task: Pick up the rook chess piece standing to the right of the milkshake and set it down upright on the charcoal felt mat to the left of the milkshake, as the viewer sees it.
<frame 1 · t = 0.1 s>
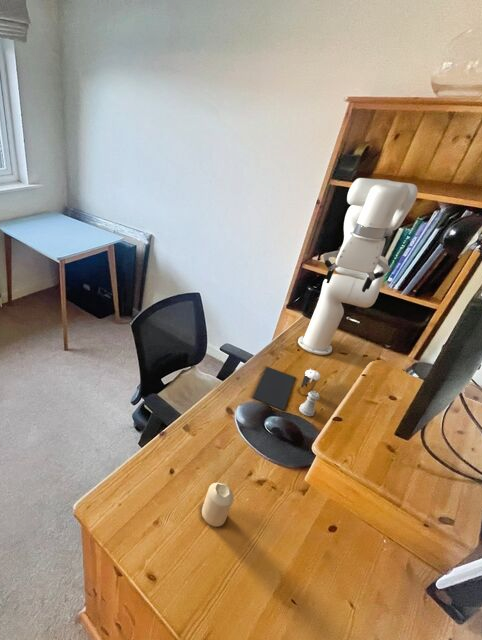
hand: (345, 286, 107), 37 cm above the table, tool pointing down, fingers open, 9 cm apart
candle: (213, 515, 82), on the table
felt mat: (274, 387, 121), on the table
rook chess piece: (305, 412, 111), on the table
milkshake: (304, 392, 119), on the table
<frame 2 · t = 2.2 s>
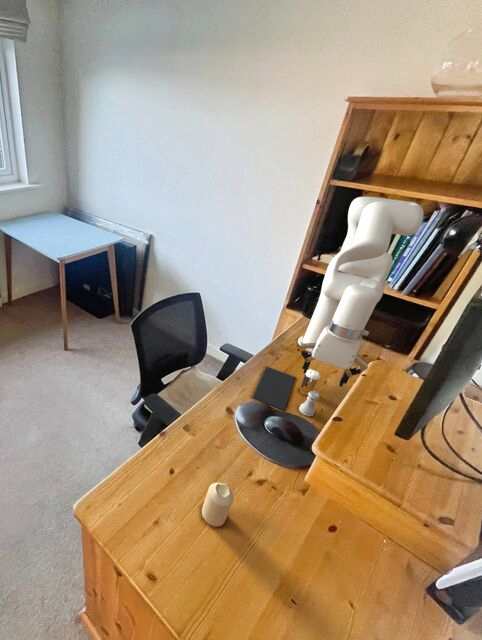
hand: (322, 377, 103), 15 cm above the table, tool pointing down, fingers open, 9 cm apart
nothing on the table moved.
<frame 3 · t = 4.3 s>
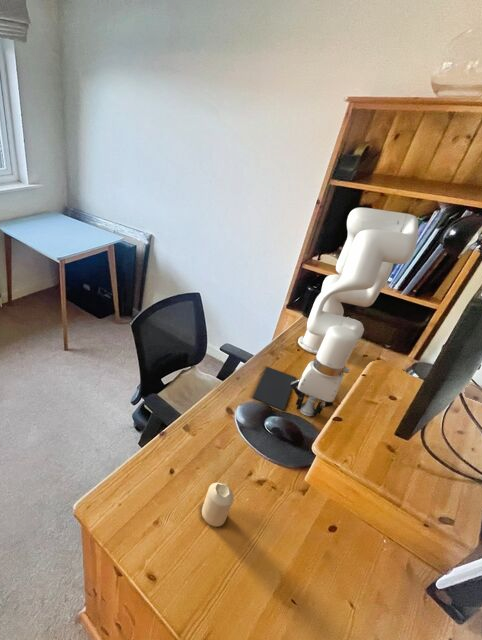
hand: (306, 409, 111), 1 cm above the table, tool pointing down, fingers closed on rook chess piece, 4 cm apart
rook chess piece: (305, 412, 111), on the table, touching gripper
everything else where it was.
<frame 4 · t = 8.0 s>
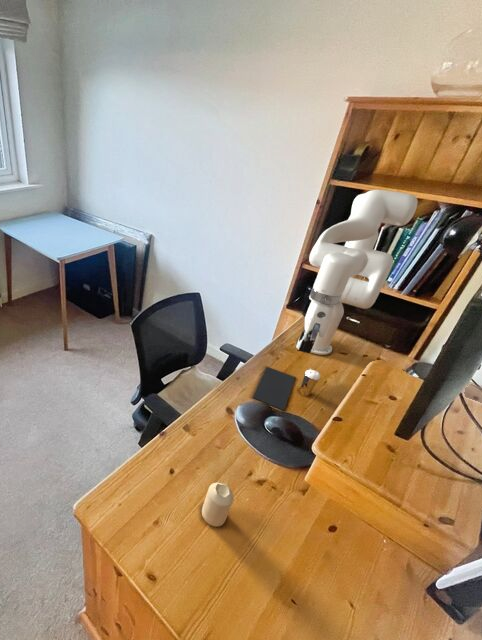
hand: (304, 346, 109), 19 cm above the table, tool pointing down, fingers closed on rook chess piece, 4 cm apart
rook chess piece: (302, 349, 110), point 18 cm above the table, touching gripper
everything else where it was.
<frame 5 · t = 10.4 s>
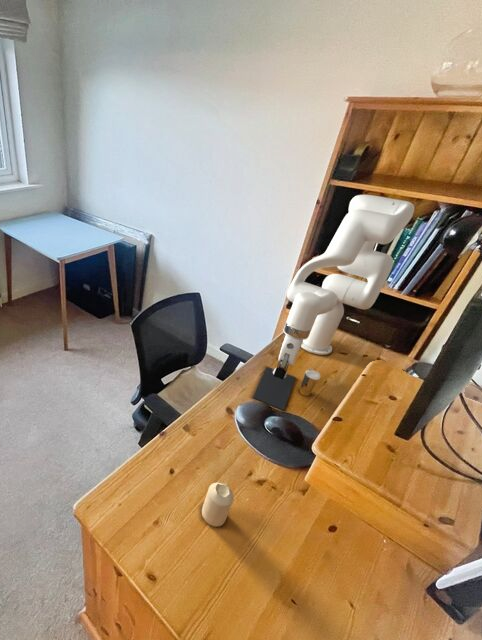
hand: (280, 373, 120), 5 cm above the table, tool pointing down, fingers closed on rook chess piece, 4 cm apart
rook chess piece: (279, 375, 121), point 3 cm above the table, touching gripper
everything else where it was.
when the fingers open (1 cm above the table, at t = 11.7 s): rook chess piece stays where it is, resting on felt mat.
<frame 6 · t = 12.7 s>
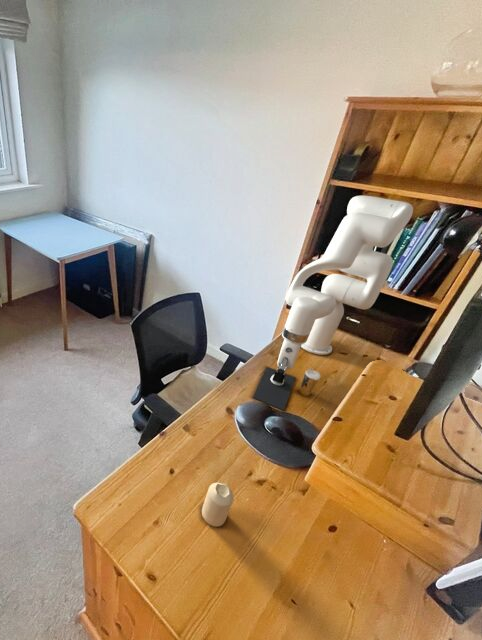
hand: (280, 373, 121), 4 cm above the table, tool pointing down, fingers open, 9 cm apart
rook chess piece: (276, 382, 123), resting on felt mat
everything else where it was.
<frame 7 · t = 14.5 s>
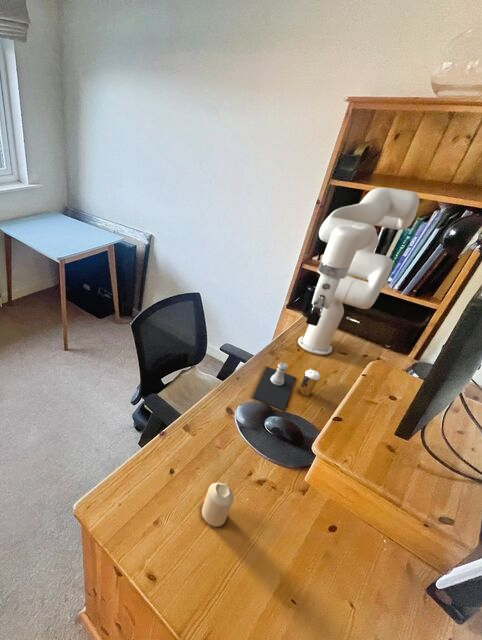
hand: (313, 317, 112), 25 cm above the table, tool pointing down, fingers open, 9 cm apart
nothing on the table moved.
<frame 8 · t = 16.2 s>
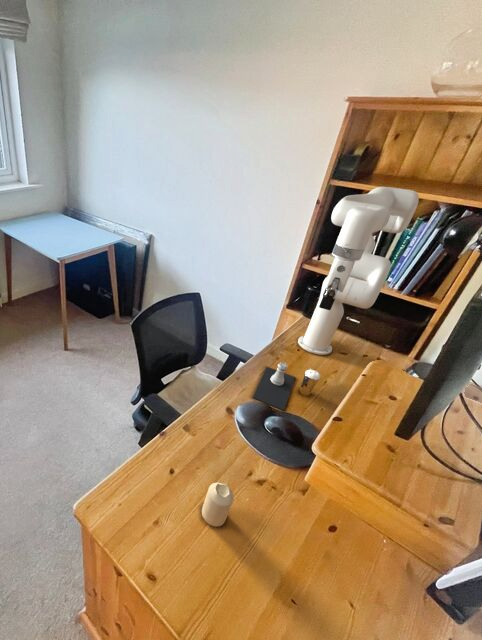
hand: (326, 302, 111), 30 cm above the table, tool pointing down, fingers open, 9 cm apart
nothing on the table moved.
at the end: rook chess piece inside the target area on the table beside the milkshake (1.0 cm from its centre), resting on felt mat; rook chess piece inside the target area on the felt mat (3.0 cm from its centre), point 0.2 cm above the felt mat's base; rook chess piece tilted 0° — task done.
